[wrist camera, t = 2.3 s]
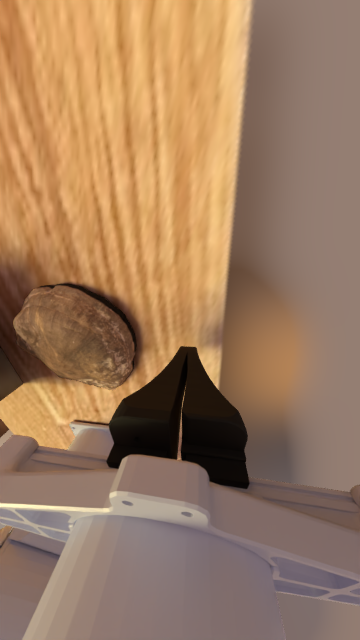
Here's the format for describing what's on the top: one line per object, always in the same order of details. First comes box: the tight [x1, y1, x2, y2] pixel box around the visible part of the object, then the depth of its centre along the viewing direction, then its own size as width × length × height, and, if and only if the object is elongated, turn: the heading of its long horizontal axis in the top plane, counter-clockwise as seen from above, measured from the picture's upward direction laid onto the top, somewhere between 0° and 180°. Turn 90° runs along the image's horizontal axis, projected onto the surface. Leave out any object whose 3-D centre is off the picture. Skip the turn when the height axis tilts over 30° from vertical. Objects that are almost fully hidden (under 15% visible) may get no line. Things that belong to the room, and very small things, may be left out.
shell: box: [13, 284, 137, 390], centre depth 15 cm, size 12×13×4 cm
